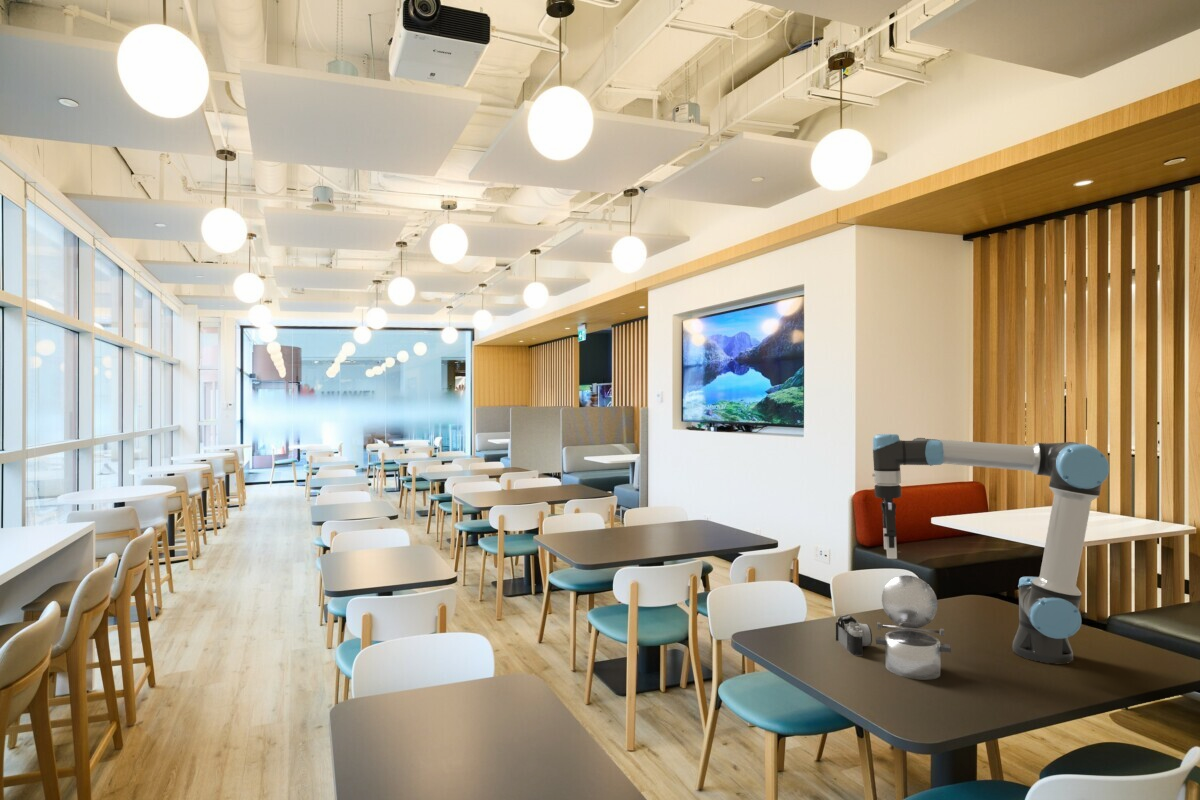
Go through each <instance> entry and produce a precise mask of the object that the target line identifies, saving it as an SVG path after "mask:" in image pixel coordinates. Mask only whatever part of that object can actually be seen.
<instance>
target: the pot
mask: <svg viewBox="0 0 1200 800" xmlns="http://www.w3.org/2000/svg"><path fill="white" fill-rule="evenodd" d="M876 627H877V630H881V629H882V623H881V622H879V621H877V622H876ZM939 635H940V636H941V637H945V629H944V628H939ZM875 644H876V645H882V646H885V647H884V648H885V668H886V669H887V671H889V672H890V673H893V674H894V675H897V676H900V677H903V678H906V679H912V680H923V681H924V680H927V681H928V680H934V679H938V678H939V677H941V652H944V653H952V648H951V645H950V643H949V644H948V643H941V641H940V639H939V638H937V637H936V636H933V635H931V634H929V633H926V632H920V631H911V630H901V629H895V630H891V631H888V632H887V633H885V635H884V637H883V636H875Z"/></svg>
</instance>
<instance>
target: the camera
mask: <svg viewBox="0 0 1200 800" xmlns="http://www.w3.org/2000/svg"><path fill="white" fill-rule="evenodd" d="M835 641H838V643H840V644H841V646H842V647H844V648H845V650H846V651H847V652H848V653H849V654H851V655H852V656H856V657H857V656H863V647H870V646H871V645H872V642H873V634H872V629H871V627H870V625H869V624H867V623H859V621H858V620H857V619H856V618H855V617H853V615H848V613H847V614H842V615H840V616H838V618H837V621H836V622H835Z"/></svg>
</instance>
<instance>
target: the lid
mask: <svg viewBox="0 0 1200 800" xmlns="http://www.w3.org/2000/svg"><path fill="white" fill-rule="evenodd" d="M881 604H882V608H883V611H884V613H885V614H886V616H888V619H890V620H891V621H892V622H894V623H895V624H897V625H898V626H897V625H888V624H881V629H882V628H883V629H892V630H893V629H894V630H907V631H916V632H921V633H931V634H940V629H939V630H937V629H929V628H928V629H927V628H923V627H925V626H927V625H928V624H930V623H931V622H932V621H933V619H934V618H935V617H936V615H937V612H938V599H937V595H936V593H935V591H934V589H933V588H932V587H931V586H930V584H928V583H927V582H926V581H925V580H923V579H921V578H919V577H917V576H914V575H908V574H907V575H900V576H896V577H893V578H892V579H891V580H889V581H888V582H887V583H886V585H885V586H884V588H883V590H882V593H881Z"/></svg>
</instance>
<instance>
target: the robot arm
mask: <svg viewBox="0 0 1200 800" xmlns="http://www.w3.org/2000/svg"><path fill="white" fill-rule="evenodd" d="M872 457H873V459H872V460H873V473H871V477H872V478H874V483H875V485H874V496H875V498H878V499H879V498H880V499H881V500H882V502H880V507H881V514H882V527H883V528H882V531H883V550H886V559H889V560H890V559H894V560H895V559H898V552H897V551H898V550H897V528H896V527H897V526H896V525H897V524H896V513H897V512H896V510H897V505H896V503H895V502H894V501H893V500H894V499H899V498H901V497H902V486H901V485H900V484H901V483H902V477H901V476H902V473H901V466H929V467H930V466H931V467H932V466H941V465H945V464H946V465H954V466H955V465H956V466H967V467H968V466H969V467H979V468H980V467H981V468H991V469H1003V470H1014V471H1027V472H1028V471H1029V472H1032V473H1033V474H1034V475H1035V476H1045V477H1050V480H1049V484H1048V485H1049V486H1048V488H1049V489H1050V490H1051V492H1052V493H1053V499H1052V506H1051V511H1050V516H1049V520H1048V522H1049V523H1048V526H1047V533H1046V537H1045V538H1046V539H1045V544H1044V550H1043V556H1042V559H1041V560H1042V562H1041V566H1040V572H1039V576H1022V577H1020V578H1019V580H1018V585H1017V587H1018V619H1019V620H1018V621H1019V622H1018V628H1017V631H1016V633H1015V636H1014V638H1013V640H1012V652H1013V653H1014V654H1016V655H1018V656H1019V657H1021V658H1024V659H1026V660H1029V659H1030V661H1033V660H1034V661H1033V662H1037V661H1040V662H1039V663H1042V662H1047V663H1046V664H1049V663H1067V662H1071V661H1072V660H1073V661H1074V652H1073V649H1072V646H1071V643H1070V642H1069V638H1070V637H1072V636H1074V635H1076V634H1077V633H1078V631H1079V630H1080V628H1081V626H1082V615H1081V611H1080V604H1081V598H1082V592H1081V591H1080V589H1079V588H1078V586H1077V584H1078V583H1077V582H1078V577H1079V571H1080V566H1081V562H1082V561H1081V560H1082V554H1083V549H1084V544H1085V538H1086V532H1087V529H1088V528H1087V527H1088V522H1089V515H1090V509H1091V504H1092V501H1093V500H1096V499H1098V498H1100V494H1101V489H1102V484H1103V483H1104V482H1105V481H1106V480H1107V478H1108V476H1109V472H1110V464H1109V462H1108V458H1107V457H1106V455H1104V453H1102V452H1101V450H1099V449H1098V448H1096V447H1094V446H1092V445H1090V444H1086V443H1079V442H1074V441H1068V442H1054V443H1053V442H1052V443H1051V442H1050V443H1049V442H1045V443H1044V442H1035V443H1033V445H1028V444H1027V445H1026V444H1011V443H1010V444H1009V443H996V442H995V443H994V442H980V441H966V440H965V441H963V440H951V439H935V438H925V437H917V438H913V439H912V440H902V439H900V437H899V434H896V433H894V434H893V433H892V434H891V433H881V434H875V435H874V436H873V437H872ZM1073 661H1072V662H1073ZM1072 662H1071V663H1072Z"/></svg>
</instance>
